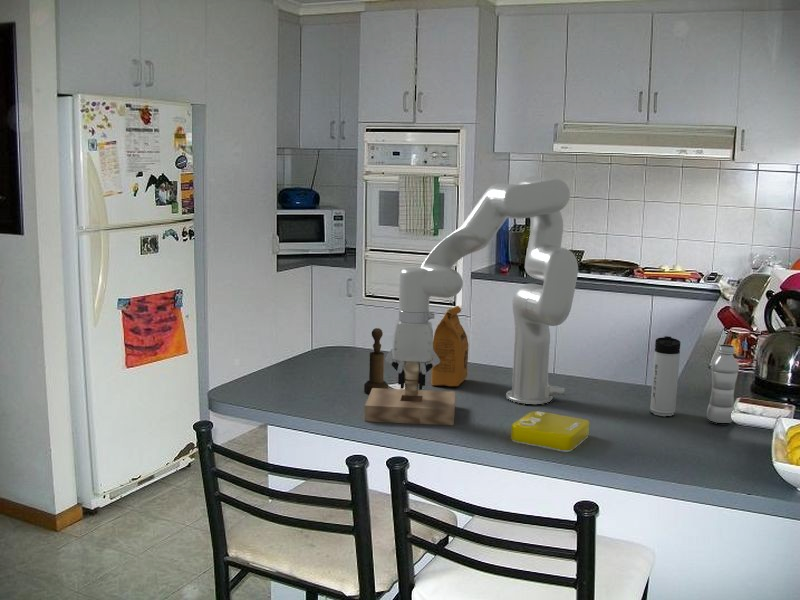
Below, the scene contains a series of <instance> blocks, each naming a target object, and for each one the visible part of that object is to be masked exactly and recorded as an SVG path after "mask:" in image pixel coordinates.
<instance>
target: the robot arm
mask: <svg viewBox="0 0 800 600" xmlns="http://www.w3.org/2000/svg"><path fill="white" fill-rule="evenodd" d="M570 198H571V191H570V187H569V186H568V184H567V183H566V182H565V181H564V180H562V179H559V178H555V177H543V176H528V177H525V178H522V179H521V180H520V182H518V184H512V183H494V184H492V185H490V186H489V187H488V188H487V189H486V191H484V193H483V194H482V196H481V197H480V198H479V200H478V201H477V203H476V204H475V206H474V207H473V208H472V210H470V213H468V216H467V217H466V218H465V219H464V221H463V222H462V223H461V225H460V226H459V227H458V228H457V229H456V230H454V231H453V232H451V233H450V234H448V235H447V236H446V237H445V238H443V239H442V240H441V241H440V242H438V243H437V245H435V247H433V249H432V250H431V251H430V252H429V254H428V255H427V257H426V258H425V259H424V261H423V262H422V264H421V266H420V267H405V268H403V269H401V271H400V272H399V291H398V293H399V297H398V298H399V300H398V320H396V321H395V323H394V331H393V339H392V348H391V349H390V351H389V352H388V353H387V355H386V356H384V362H387V364H390V366H391V367H393V369H394V370H396V373H398V374H397V375H398V379H397V384H398V386H399V385H400V389H405V383H404V362H410V361H412V362H419V363H420V376H419V384H418V390H423V387H424V386H426V375H427V373H428V372H429V371H430V370H432V367H434V366H436V365H437V364H439V363H440V359H439V358H438V356H437V355H436V353H435V351H434V350H433V339H434V334H433V332H434V331H433V324H432V321H430V320H432V319H434V320H435V313H432V312H431V311H430V297H434V298H435V297H436V298H444V299H445V298H446V299H447V298H452V297H455V296H456V295H458V294H459V293H460V292H461V290H463V289H462V288H463V283H464V280H463V277H462V275H461V274H460V273H459V271H456V269H453V267H454V265H455V264H456V263H457V262H459V261H460V260H461V259H462V258H464V257H465V256H468V255H470V254H473V253H477V252H478V251H480V250H483V249H485V248H487V247H488V245H489V244H490V243H491V242H492V241H493V238H494V237H495V235H496V234H497V233H498V231H499V230H500V229H501V228H502V226H503V224H504V223H505V221H506V220H507V219H514V220H515V219H517V220H519V219H520V220H521V219H528V218H529V219H530V230H529V231H530V232H529V238H528V243H527V249H526V255H525V259H524V269H525V273H526V274H527V275H529V276H530V277H531V278H533V279H535V280H540V281H542V282H543V284H537V283H526V284H523V285H521V286H519V287H518V288H517V290H516V291H515V292H514V294H513V299H512V313H513V320H514V321H513V322H514V336H513V337H514V339H513V340H514V341H513V342H514V343H513V361H512V379H511V380H512V383H511V390H508V391H506V394H505V398H506V399H507V400H508V399H509V400H508V401H510V400H511V401H510V402H512V401H513V402H512V403H515V402H518V403H517V404H519V403H526V404H542V403H547V402H550V401H551V400H552V399H553V395H559V396H565V393H566V392H565V391H566V390H565V389H566V388H565V387H560V386H557V385H550V384H549V366H550V365H549V363H550V348H551V346H550V345H551V332H550V330H551V329H550V327H556V326H559V325H561V324H563V323H564V322H565V321H566V320H567V319H568V317H569V315H570V313H571V310H572V306H573V300H574V296H575V290H576V286H577V280H578V273H579V265H578V261H577V260H578V259H577V257H576V256H575V254H574V253H573V252H572V250H569V249H567V248H565V247H562V241H563V234H564V233H563V232H564V219H563V216H562V212H561V210H563V209H564V208H566V206H567V205H568V203H569V201H570ZM432 358H433V361H432ZM552 401H553V400H552ZM552 401H551V402H552ZM551 402H550V403H551ZM547 404H548V403H547ZM542 405H543V404H542Z"/></svg>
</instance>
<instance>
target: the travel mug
mask: <svg viewBox="0 0 800 600" xmlns="http://www.w3.org/2000/svg"><path fill="white" fill-rule="evenodd" d="M654 343H655V345H654V347H655V348H654V354H653V367H652V368H653V369H652V379H651V380H652V382H651V392H650V393H651V395H650V405H649V406H650V407H649V411H650V410H651V411H653V412H655V413H659V414H672V413H675V414H676V404H677V396H678V395H677V393H678V384H679V383H678V380H679V369H680V368H679V367H680V357H681V356H680V354H681V341H680V340H679V339H677V338H674V337H673V338H672V336H667V335H665V336H664V337H663V336H662V337H658V338H656V339H655V342H654Z"/></svg>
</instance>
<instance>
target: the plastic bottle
mask: <svg viewBox="0 0 800 600" xmlns="http://www.w3.org/2000/svg"><path fill="white" fill-rule="evenodd" d="M717 353H718V355H717V356H716V358H715V359H714V360H713V361H712V363H711V369H710V370H711V393H710V398H709V404H708V406H707V408H706V409H707V410H706V417H707V419H709V420H710V421H713V422H718V423H730V424H731V423H732V422H733V421H732V419H731V413H732V411H733V410H734V411H735V406H734V405H735V404H734V401H735V399H734V398H735V397H734V396H735V388H736V382H737V379H738V374H739V371H740V366H739V363H738V361H737V359H736V358H735V357H734V355H735V346H734V345H732V344H719V346H718V350H717ZM709 420H708V421H709ZM710 421H709V422H710ZM713 422H712V423H713Z"/></svg>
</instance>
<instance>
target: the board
mask: <svg viewBox="0 0 800 600" xmlns="http://www.w3.org/2000/svg"><path fill="white" fill-rule="evenodd" d="M455 412H456V391H447V390H446V391H444V390H425V389H422V390H420V389H418V395H416V396H408V395H405V388H403V389H401V388H400V389H399V388H388V389H384V388H372V390H371V392H370V394H368V397H367V399H366V401H365V404H364V422H376V423H377V422H378V423H379V422H380V423H395V424H397V423H398V424H399V423H400V424H416V425H420V424H421V425H441V426H454V425H455V415H456V414H455Z"/></svg>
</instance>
